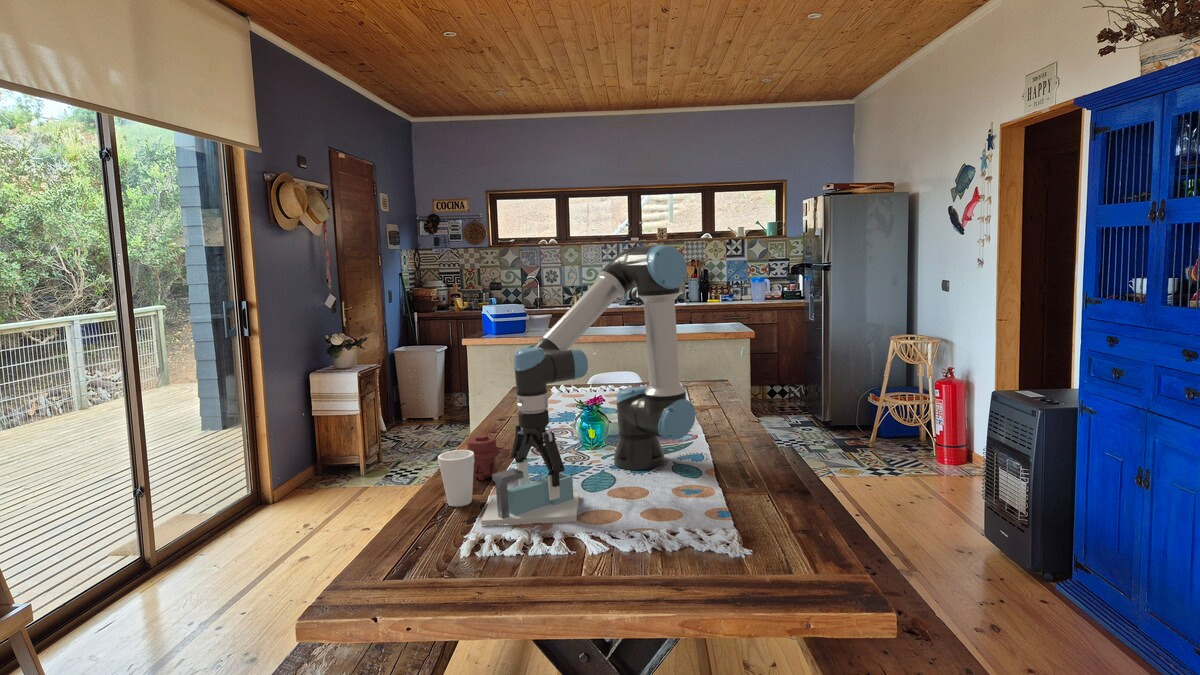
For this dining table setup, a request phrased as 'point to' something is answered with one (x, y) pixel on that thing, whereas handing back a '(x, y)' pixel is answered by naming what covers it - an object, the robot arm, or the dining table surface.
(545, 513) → the board
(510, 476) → the block
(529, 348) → the robot arm
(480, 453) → the mechanical component
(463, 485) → the foam cup
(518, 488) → the link
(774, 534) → the dining table surface
